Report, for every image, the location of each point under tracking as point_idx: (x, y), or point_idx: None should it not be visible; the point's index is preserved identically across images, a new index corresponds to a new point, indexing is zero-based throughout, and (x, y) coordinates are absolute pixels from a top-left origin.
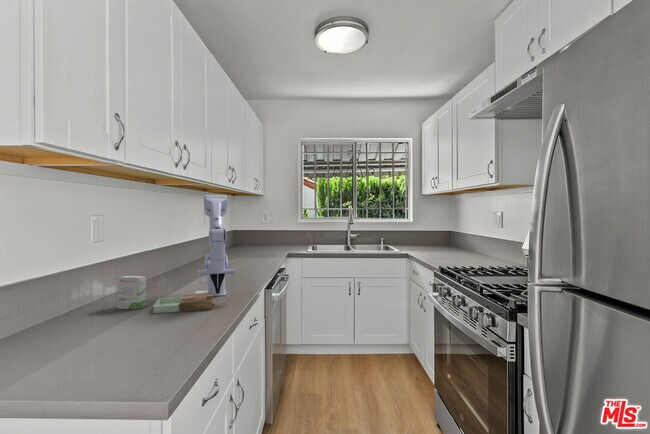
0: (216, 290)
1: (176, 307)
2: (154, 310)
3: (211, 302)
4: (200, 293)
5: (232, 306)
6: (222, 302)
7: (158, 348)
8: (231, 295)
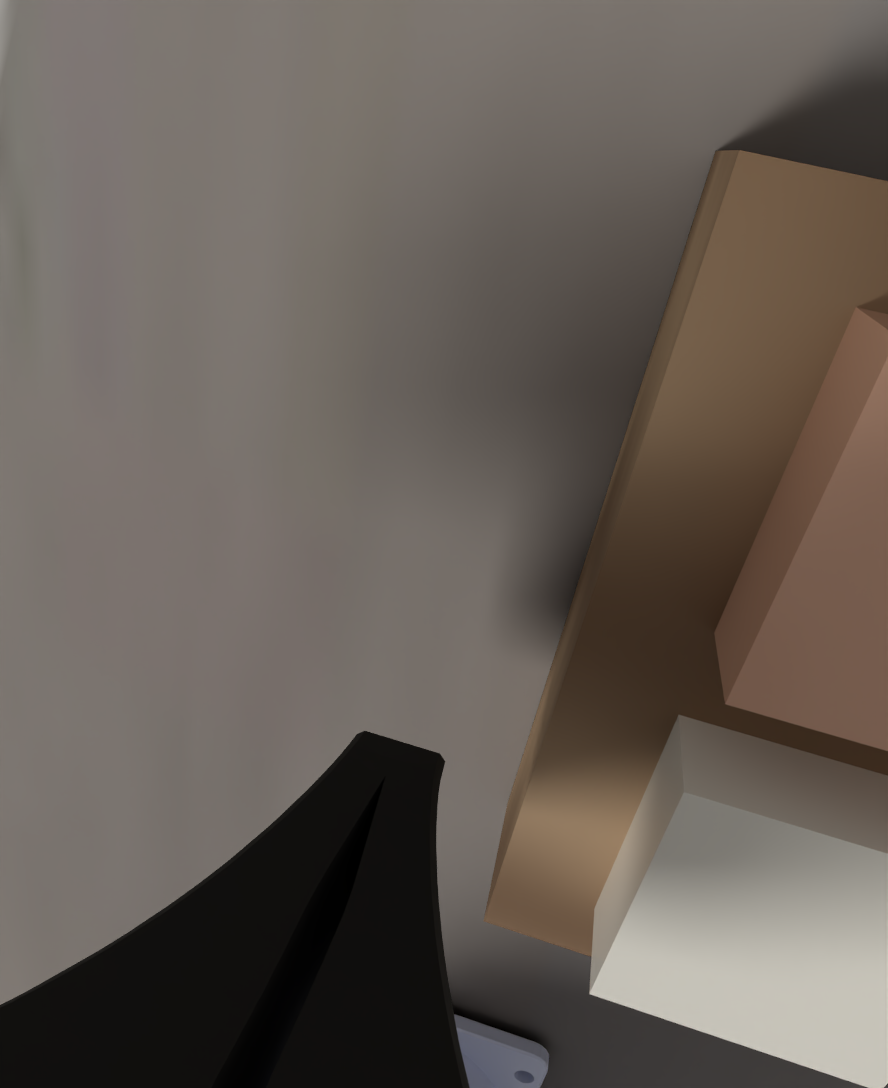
0: (412, 798)
1: None
2: None
3: (667, 342)
4: (882, 853)
5: (203, 234)
6: (363, 634)
7: None
8: None
